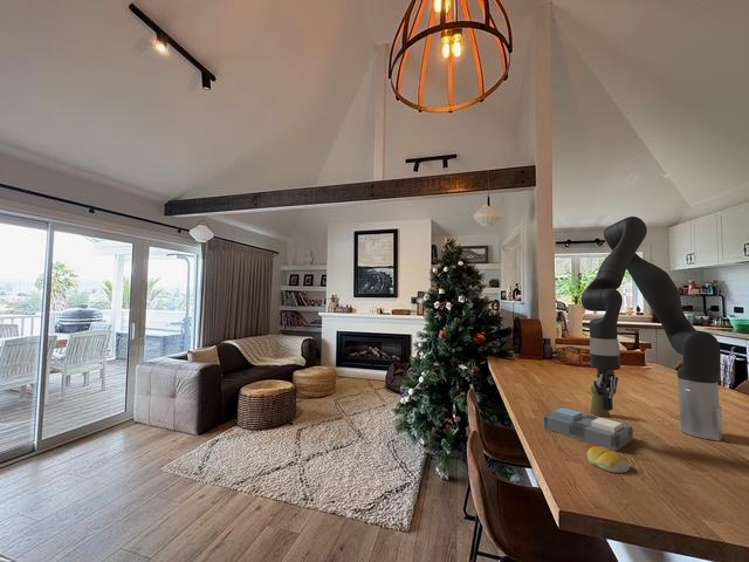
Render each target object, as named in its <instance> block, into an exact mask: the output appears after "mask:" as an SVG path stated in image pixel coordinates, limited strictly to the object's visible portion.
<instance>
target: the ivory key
mask: <svg viewBox="0 0 749 562" xmlns="http://www.w3.org/2000/svg"><path fill="white" fill-rule="evenodd" d="M622 424H623V423H622V422H619V421H615V420H611V419H607V418H605V417H598V418H597V419H595V420H593V421H591V426H592V427H596V428H599V429H603V430H606V431H610V432H613V433H616V432H618V431H620V430H621V429H622Z"/></svg>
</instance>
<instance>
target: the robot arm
mask: <svg viewBox="0 0 749 562" xmlns="http://www.w3.org/2000/svg"><path fill="white" fill-rule="evenodd" d="M647 233H648V229H647V225H646V223H645V222H644V221H643V220H642V219H641V218H639V216H638V217H637V216H635V215H634V216H627V217H625V218H623V219H620V220H619V221H617V222H615V223H613V224H611V225H609V226H607V227H605V228H604V230H603V237H604V241H605V242H606V244H607V245H608V247H609V248H610V250H611V252H610V253H609V254H608V255H607V256H606V258H605V259H603V261H602V262H601V263H600V266H599V269H598V271H597V273H596V275H595V278H594V279H593V280H592V281H591V282H590V283H589V285H588V286H587V287H586V288H585V289H584V290H583V292H582V294H581V297H580V302H581V306H582V307H583V309H585V310H586V311H589V312H605V313H604V314H603V316H602V317H600V318H594V319H590V320H589V324H588V325H589V355H590V356H589V357H590V366H591V368H594V369H595V370H597V372H596V375H595V377H596V380H593V385H594V386H595V388H596V390H597V393H598V395H599V396H601V397H602V403H603V409H604V410H609V412H610V411H612V410H614V407H613V405H614V403H613V398H614V397H615V396H614V395H616V392H617V387H618V381H619V377H618V376H616V374H615V371H619V370H620V369H621V355H620V354H621V353H620V345H619V339H618V322H619V317H620V316H619V315H620V312H621V309H622V306H623V296H622V294H621V293H620V291H619V290H617V289H620V287H621V285H622V283H623V280H624V277H625V274H626V271H627V272H628V274H629V276H630V277H631V278H632V280H633V282H634V283H635V286H636V287H637V289H638V290H639V292H640V294H641V295H642V297H643V299H645V302H646V303H647V305H648V306H649V308H650V309H651V310H652V312H653V314H654V315H655V316H656V318H657V320H658V321H659V322H660V324H661V327H662V328H663V330H664V333H665V335H666V337H667V339H668V341H669V344H670V345H671V347H672V348H673V350H674V351H675V352H676V353H678V354H679V355H681V356H682V358H683V360H682V366H681V367H679V368H678V369H677V371H676V372H677V373H676V374H677V375H676V376H677V389H678V405H679V421H680V431H681V432H682V433H684V434H686V435H690V436H692V437H696V438H701V439H704V440H713V441H719V442H720V441H721V439H722V438H723V437H724V430H723V415H722V414H723V413H722V406H721V405H720V398H719V397H720V395H719V384H718V383H719V382H718V381H719V380H718V378H719V376H720V373H721V369H722V368H721V366H722V365H721V364H722V363H721V362H722V361H721V359H722V358H721V354H722V353H721V346H720V343H719V341H718V339H717V337H715V336H714V335H713V334H712V333H710V332H708V331H707V332H706V331H702V330H697V329H695V327H694V326H693V325H692V323H691V322H690V320H689V319H688V318H687V316H686V315H685V313H684V310H683V309H684V308H683V306H682V300H681V295H680V291H679V289H678V287H677V285H676V284H675V282H674V281H673V279H672V278H671V276H670V275H669V274H668V272H667V271H665V270H664V269H663V268H661V267H659V266H657V265H656V264H654V263H651V262H649V261H647V260H646V259H644V258H642V257H641V256H640V255H638V254H637V253H636V252H637V251H638V249H639V247H640V246H641V244H642V243H643V242H644V240H645V238H646V236H647Z"/></svg>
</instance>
